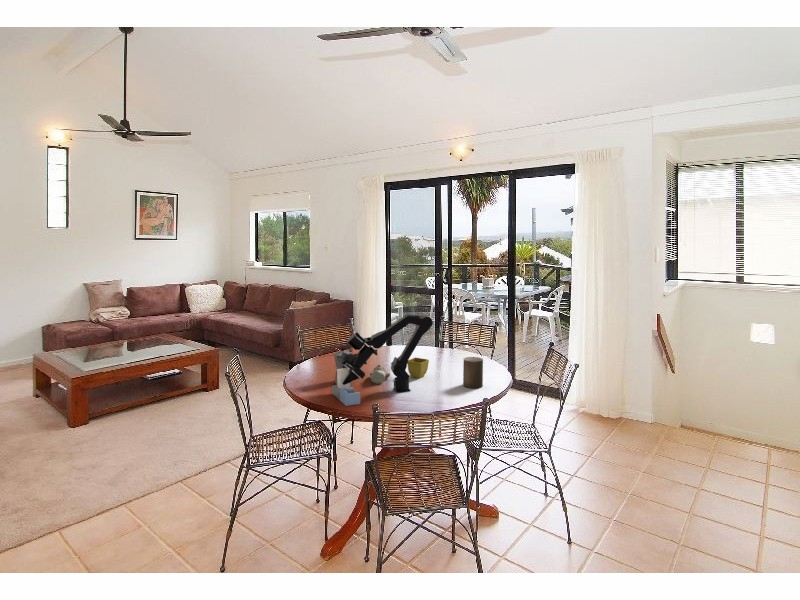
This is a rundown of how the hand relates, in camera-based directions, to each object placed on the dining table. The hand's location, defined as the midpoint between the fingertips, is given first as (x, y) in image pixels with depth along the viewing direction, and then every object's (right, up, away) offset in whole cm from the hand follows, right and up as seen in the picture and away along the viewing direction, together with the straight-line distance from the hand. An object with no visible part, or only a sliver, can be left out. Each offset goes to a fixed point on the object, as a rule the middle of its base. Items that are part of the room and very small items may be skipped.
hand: (340, 382), depth 226 cm
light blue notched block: (+5, -8, -7) cm, 11 cm away
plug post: (+1, -7, +1) cm, 7 cm away
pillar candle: (+64, -5, +17) cm, 66 cm away
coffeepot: (-1, -4, +24) cm, 24 cm away
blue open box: (+1, -7, +1) cm, 7 cm away
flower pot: (+37, -3, +33) cm, 50 cm away
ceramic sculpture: (+17, -4, +25) cm, 31 cm away
